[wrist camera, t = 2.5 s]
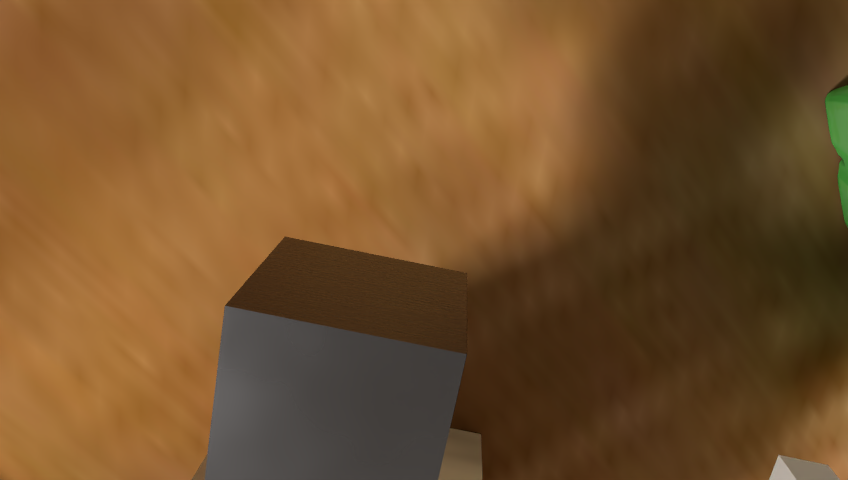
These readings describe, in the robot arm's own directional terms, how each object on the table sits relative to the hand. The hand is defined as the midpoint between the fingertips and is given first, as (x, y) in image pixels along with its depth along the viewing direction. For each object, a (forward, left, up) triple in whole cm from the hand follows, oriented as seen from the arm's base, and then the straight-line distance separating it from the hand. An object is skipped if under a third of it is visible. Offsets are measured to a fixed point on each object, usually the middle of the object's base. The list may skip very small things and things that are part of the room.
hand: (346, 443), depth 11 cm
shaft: (0, -7, -3) cm, 7 cm away
